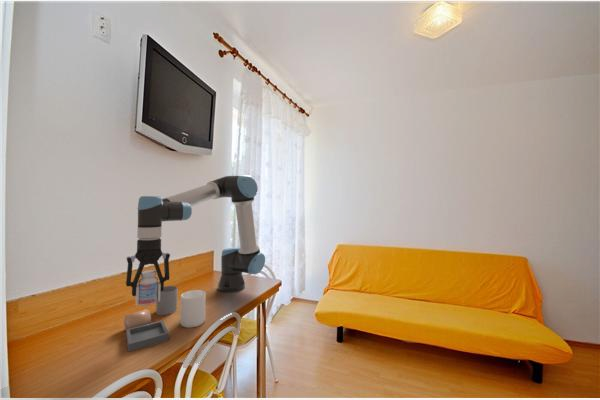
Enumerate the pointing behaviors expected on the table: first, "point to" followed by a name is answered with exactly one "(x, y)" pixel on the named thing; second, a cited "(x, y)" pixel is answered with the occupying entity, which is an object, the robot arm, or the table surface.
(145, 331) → the tray
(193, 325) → the mug
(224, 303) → the table surface
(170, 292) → the cup
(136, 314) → the beige block
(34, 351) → the table surface
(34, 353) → the table surface
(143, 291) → the pill bottle
